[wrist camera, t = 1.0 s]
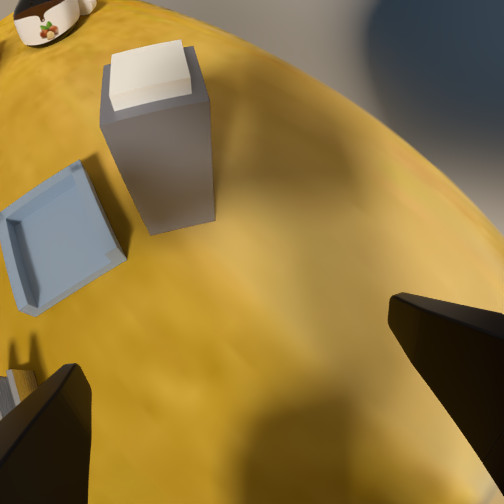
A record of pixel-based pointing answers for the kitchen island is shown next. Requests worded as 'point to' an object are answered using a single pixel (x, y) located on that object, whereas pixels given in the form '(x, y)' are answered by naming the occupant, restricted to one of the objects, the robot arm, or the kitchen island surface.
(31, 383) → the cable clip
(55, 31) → the spread jar
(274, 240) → the kitchen island surface
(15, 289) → the holder
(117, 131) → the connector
